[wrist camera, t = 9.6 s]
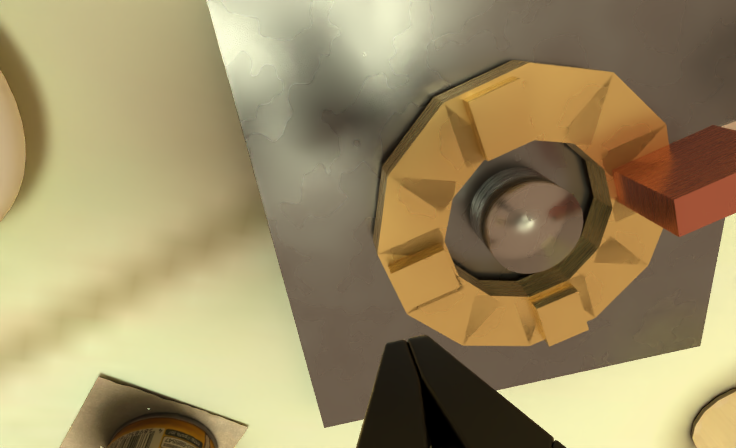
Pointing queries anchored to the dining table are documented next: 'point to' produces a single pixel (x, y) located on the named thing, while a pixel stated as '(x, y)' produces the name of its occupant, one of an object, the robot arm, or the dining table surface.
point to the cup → (716, 423)
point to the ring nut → (605, 218)
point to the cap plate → (486, 185)
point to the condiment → (145, 422)
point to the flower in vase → (10, 148)
